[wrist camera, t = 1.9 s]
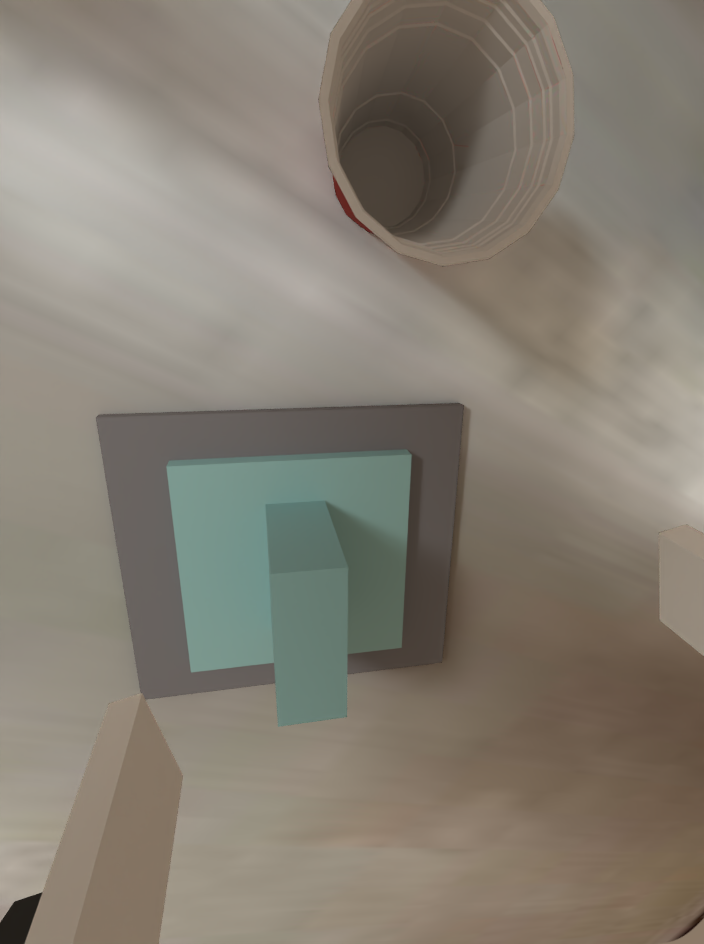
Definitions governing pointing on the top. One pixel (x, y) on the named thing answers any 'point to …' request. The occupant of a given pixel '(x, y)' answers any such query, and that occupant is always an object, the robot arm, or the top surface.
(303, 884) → the top surface
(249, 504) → the lid
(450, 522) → the mat
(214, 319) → the top surface
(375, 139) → the plastic cup
